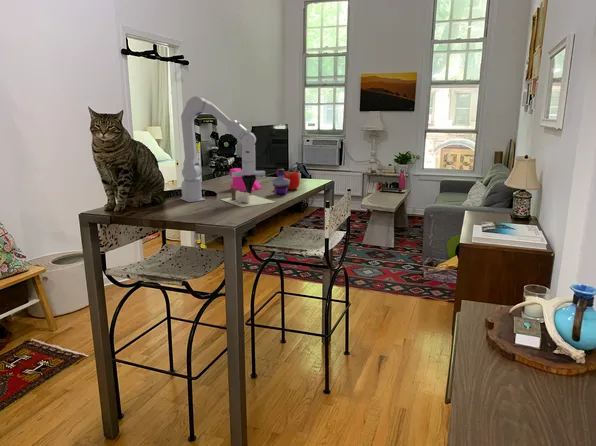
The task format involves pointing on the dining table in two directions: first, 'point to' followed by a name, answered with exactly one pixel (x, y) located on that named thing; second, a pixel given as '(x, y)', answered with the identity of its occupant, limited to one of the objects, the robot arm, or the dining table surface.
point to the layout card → (252, 201)
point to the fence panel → (242, 196)
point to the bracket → (240, 184)
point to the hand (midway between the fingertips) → (249, 192)
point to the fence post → (233, 193)
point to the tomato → (292, 180)
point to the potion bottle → (281, 183)
